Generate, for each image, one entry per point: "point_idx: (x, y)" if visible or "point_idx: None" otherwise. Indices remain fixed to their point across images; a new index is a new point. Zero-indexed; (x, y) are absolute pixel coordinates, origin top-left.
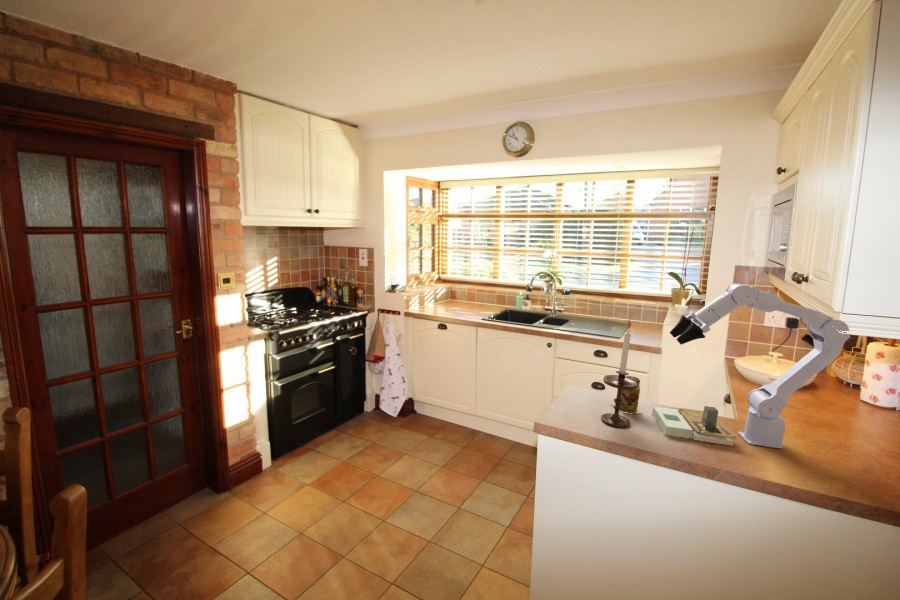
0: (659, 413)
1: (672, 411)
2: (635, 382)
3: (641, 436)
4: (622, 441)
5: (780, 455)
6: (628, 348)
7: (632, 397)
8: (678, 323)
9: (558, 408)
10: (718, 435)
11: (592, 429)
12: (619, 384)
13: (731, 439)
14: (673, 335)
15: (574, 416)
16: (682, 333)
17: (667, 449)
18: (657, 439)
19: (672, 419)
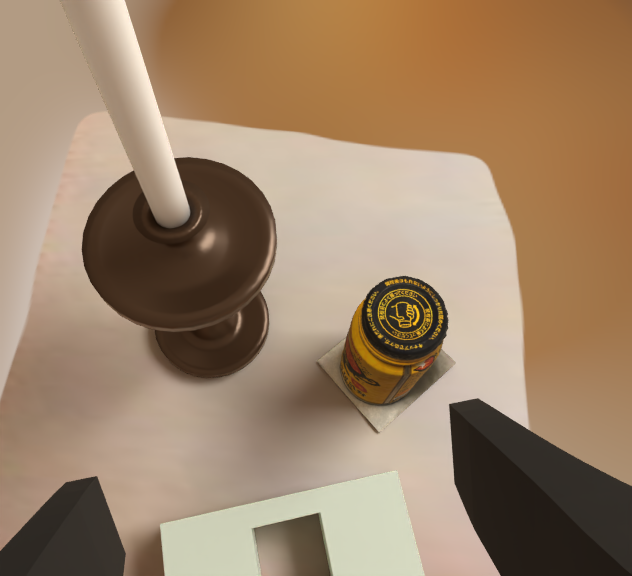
0: (315, 497)
1: (386, 569)
2: (205, 309)
3: (112, 422)
4: (34, 352)
5: None
6: (111, 104)
7: (349, 356)
8: (612, 513)
9: (236, 138)
10: None
11: None
12: (139, 234)
13: None
14: (456, 466)
15: None
16: (20, 570)
17: (22, 524)
18: (109, 487)
19: (330, 567)
